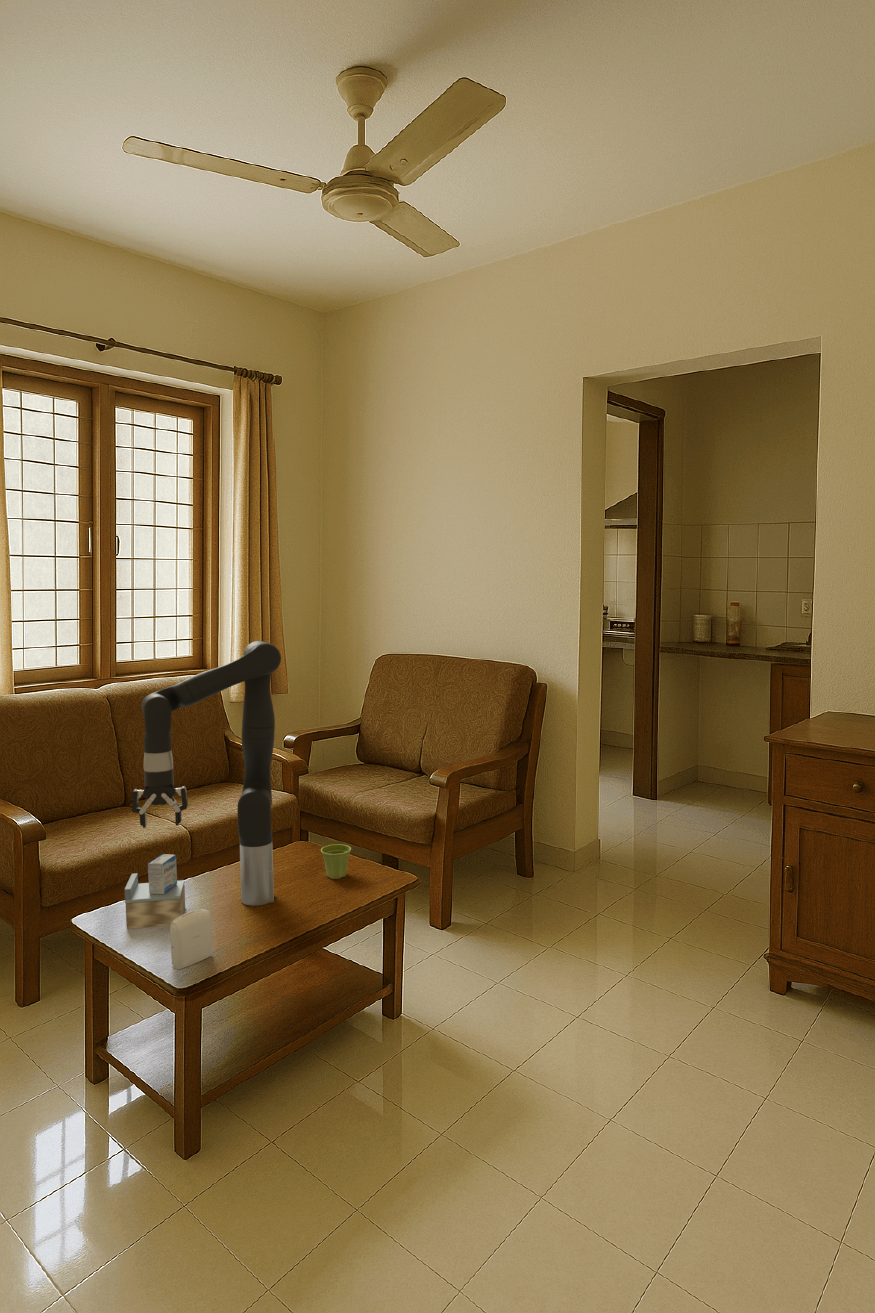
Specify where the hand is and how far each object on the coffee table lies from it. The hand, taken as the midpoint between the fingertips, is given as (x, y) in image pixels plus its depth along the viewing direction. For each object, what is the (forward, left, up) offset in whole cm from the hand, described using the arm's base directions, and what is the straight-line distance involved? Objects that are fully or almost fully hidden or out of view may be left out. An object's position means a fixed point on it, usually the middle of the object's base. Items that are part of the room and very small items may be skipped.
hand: (161, 826), depth 223 cm
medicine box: (0, 0, -18) cm, 18 cm away
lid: (+2, 0, -19) cm, 19 cm away
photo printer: (-10, +28, -26) cm, 40 cm away
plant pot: (-49, -23, -26) cm, 60 cm away
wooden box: (+2, 0, -26) cm, 26 cm away
